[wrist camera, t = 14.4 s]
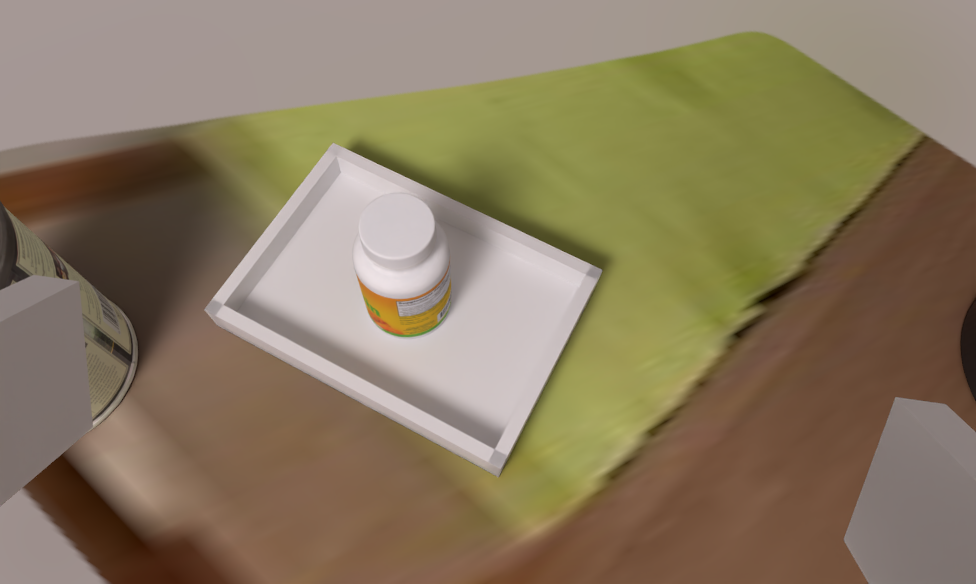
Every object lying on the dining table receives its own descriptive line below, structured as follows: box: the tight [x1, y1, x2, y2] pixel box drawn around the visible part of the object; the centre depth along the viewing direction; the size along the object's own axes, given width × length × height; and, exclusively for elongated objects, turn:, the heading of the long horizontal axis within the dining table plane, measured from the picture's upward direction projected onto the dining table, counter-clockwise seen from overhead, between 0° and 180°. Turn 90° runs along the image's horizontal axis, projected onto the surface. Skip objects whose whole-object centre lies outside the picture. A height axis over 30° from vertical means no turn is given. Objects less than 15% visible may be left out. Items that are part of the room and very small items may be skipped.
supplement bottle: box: [352, 193, 452, 339], centre depth 40 cm, size 5×5×10 cm
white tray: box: [204, 143, 602, 477], centre depth 44 cm, size 20×14×2 cm
